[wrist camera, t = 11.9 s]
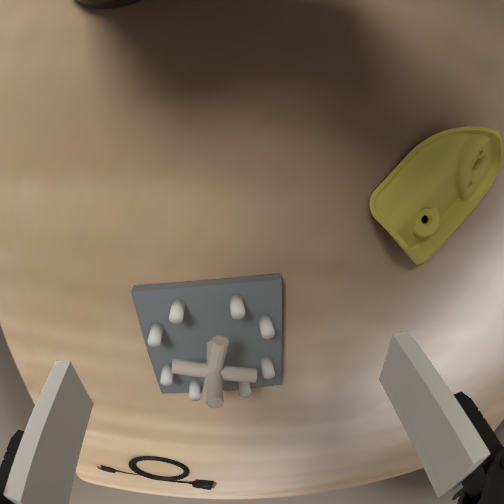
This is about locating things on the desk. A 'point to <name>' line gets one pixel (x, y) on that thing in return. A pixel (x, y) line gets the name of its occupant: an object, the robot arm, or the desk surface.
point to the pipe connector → (214, 371)
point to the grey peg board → (213, 328)
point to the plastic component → (437, 188)
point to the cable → (132, 464)
